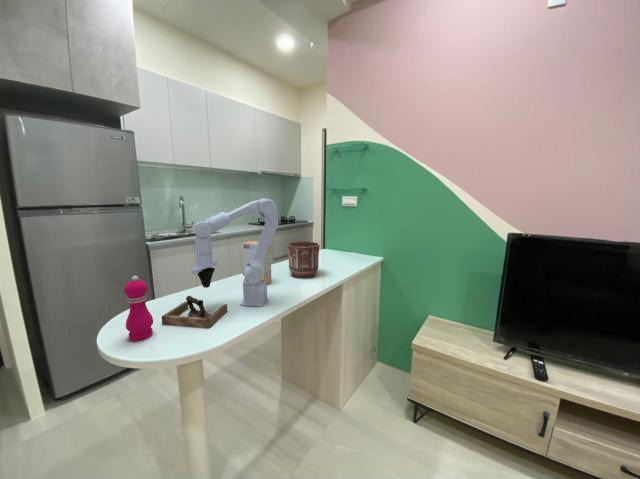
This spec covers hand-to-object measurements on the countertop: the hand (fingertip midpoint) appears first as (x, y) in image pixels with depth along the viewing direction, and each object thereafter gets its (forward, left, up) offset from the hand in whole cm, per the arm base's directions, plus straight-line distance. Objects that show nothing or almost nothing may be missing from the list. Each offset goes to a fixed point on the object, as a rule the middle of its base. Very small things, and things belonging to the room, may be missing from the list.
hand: (206, 286), depth 104 cm
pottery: (-29, -51, -9) cm, 59 cm away
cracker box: (-8, -35, -9) cm, 37 cm away
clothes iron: (0, +7, -10) cm, 12 cm away
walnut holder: (0, +7, -9) cm, 11 cm away
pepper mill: (+10, +22, -9) cm, 26 cm away
